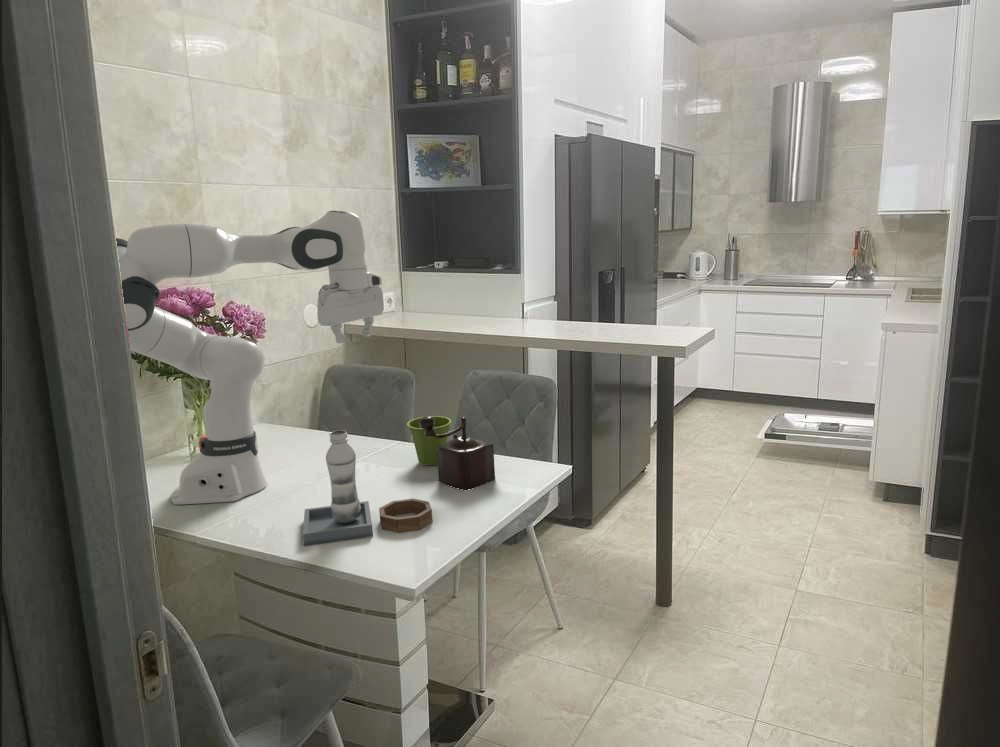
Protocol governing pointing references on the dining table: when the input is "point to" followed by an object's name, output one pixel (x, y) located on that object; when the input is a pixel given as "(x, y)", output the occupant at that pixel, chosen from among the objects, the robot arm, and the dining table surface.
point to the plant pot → (428, 439)
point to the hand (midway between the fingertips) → (354, 339)
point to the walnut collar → (405, 522)
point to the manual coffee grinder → (462, 457)
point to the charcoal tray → (334, 526)
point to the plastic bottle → (342, 479)
